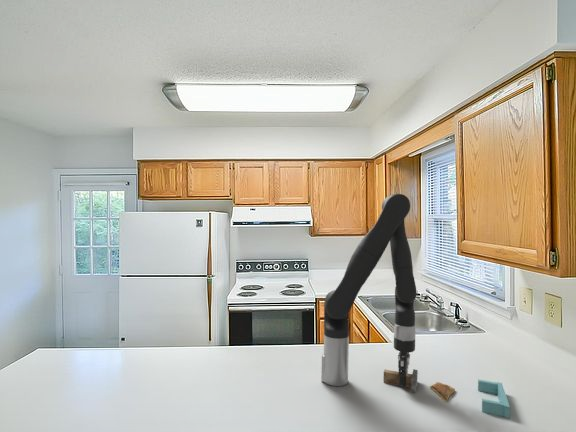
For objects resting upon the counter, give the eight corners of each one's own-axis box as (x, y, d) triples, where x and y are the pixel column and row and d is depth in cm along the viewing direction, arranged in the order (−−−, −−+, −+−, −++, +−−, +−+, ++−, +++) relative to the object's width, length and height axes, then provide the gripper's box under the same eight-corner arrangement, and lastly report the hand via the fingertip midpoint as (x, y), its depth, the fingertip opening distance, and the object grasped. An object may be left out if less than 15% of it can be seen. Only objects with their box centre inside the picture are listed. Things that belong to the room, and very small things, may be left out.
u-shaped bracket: (482, 412, 116) (482, 401, 116) (477, 388, 133) (478, 378, 133) (509, 418, 113) (509, 406, 113) (501, 392, 130) (501, 382, 130)
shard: (446, 404, 122) (446, 398, 122) (423, 396, 127) (423, 391, 127) (455, 392, 131) (456, 387, 131) (434, 385, 136) (434, 380, 136)
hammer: (381, 386, 133) (382, 374, 133) (385, 375, 142) (386, 364, 142) (415, 393, 128) (415, 380, 128) (417, 381, 137) (417, 369, 137)
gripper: (396, 329, 143) (395, 373, 143) (391, 340, 129) (390, 388, 129) (416, 332, 140) (415, 376, 140) (413, 344, 126) (412, 393, 127)
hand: (403, 382), depth 135 cm, fingers open, 5 cm apart
